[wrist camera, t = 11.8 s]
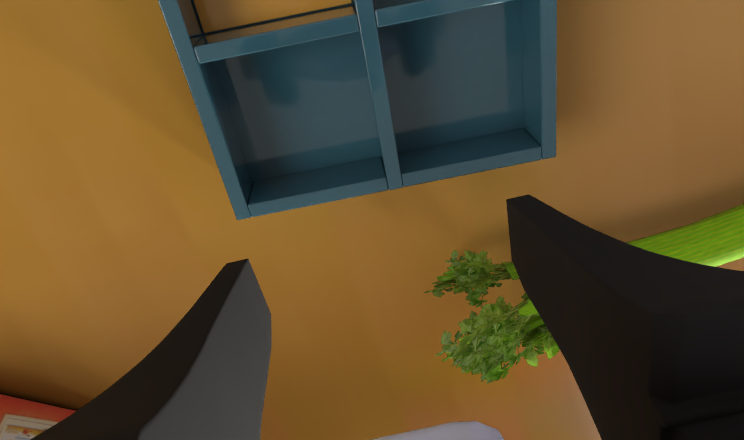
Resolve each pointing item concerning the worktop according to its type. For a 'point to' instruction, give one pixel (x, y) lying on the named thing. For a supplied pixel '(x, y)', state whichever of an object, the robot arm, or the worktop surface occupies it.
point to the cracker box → (27, 418)
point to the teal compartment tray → (365, 92)
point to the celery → (502, 330)
